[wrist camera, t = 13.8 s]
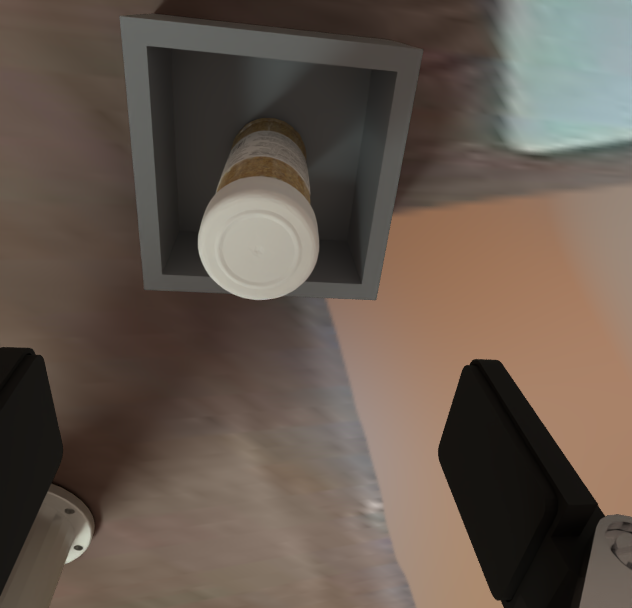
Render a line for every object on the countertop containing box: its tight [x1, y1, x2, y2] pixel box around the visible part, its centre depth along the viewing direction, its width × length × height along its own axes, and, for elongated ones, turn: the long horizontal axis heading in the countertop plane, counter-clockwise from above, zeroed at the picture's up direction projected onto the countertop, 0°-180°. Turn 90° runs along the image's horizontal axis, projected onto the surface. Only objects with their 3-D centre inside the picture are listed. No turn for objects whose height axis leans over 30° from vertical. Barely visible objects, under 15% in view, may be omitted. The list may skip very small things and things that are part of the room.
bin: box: [120, 14, 423, 300], centre depth 27 cm, size 13×13×7 cm
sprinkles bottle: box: [198, 118, 319, 300], centre depth 24 cm, size 5×5×14 cm
